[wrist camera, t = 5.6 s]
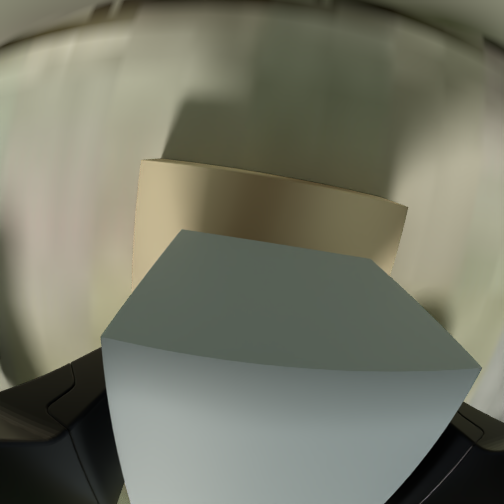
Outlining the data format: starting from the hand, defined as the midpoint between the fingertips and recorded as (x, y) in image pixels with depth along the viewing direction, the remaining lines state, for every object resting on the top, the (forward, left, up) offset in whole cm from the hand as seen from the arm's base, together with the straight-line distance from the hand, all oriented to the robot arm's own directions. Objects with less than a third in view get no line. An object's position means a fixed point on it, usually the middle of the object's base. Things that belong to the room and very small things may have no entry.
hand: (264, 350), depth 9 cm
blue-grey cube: (0, 0, -1) cm, 1 cm away
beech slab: (0, 0, -5) cm, 5 cm away
